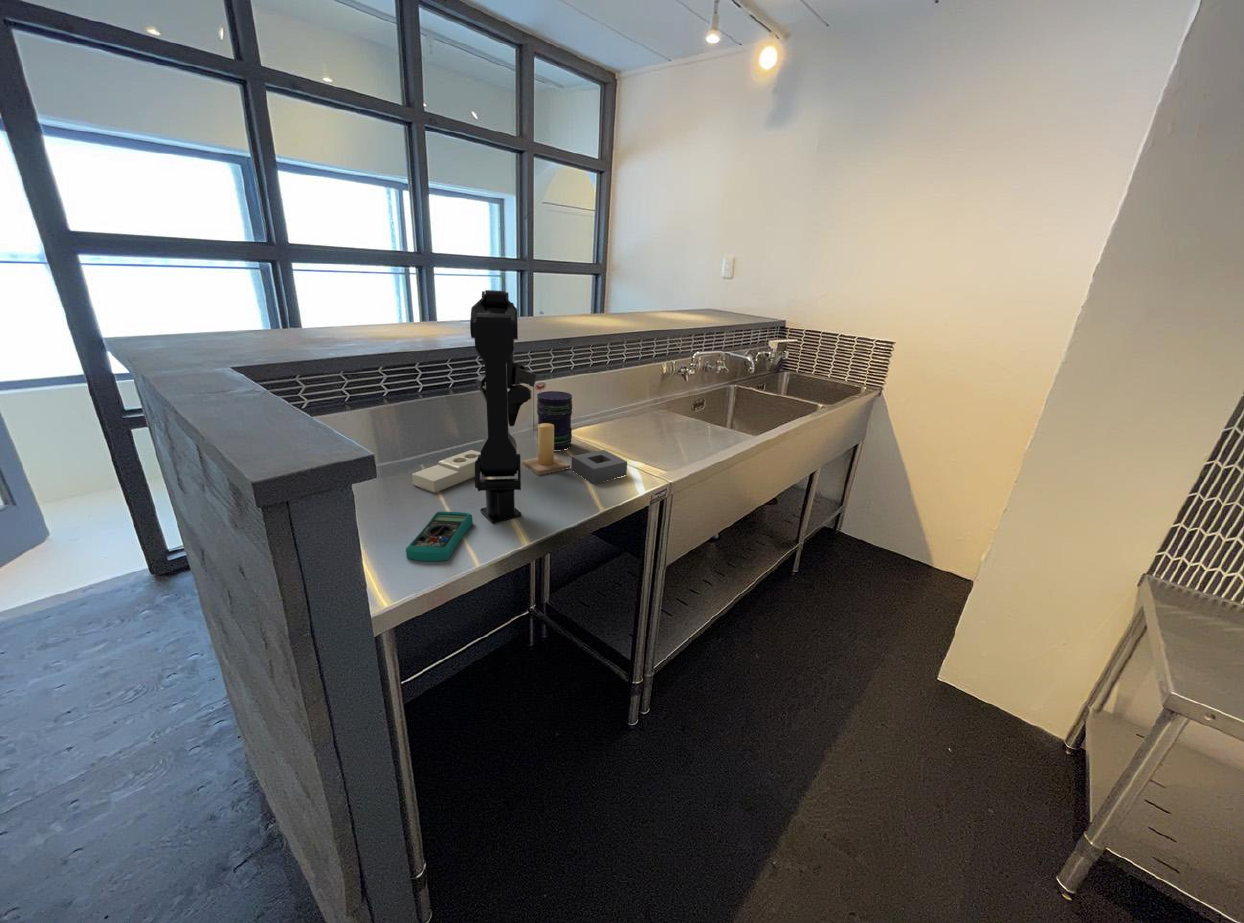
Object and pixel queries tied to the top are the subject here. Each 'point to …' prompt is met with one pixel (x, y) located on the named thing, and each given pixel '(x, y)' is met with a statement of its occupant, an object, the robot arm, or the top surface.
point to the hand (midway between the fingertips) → (503, 421)
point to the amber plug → (545, 444)
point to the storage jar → (556, 416)
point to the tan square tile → (543, 469)
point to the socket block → (598, 466)
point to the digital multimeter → (439, 536)
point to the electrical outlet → (447, 472)
